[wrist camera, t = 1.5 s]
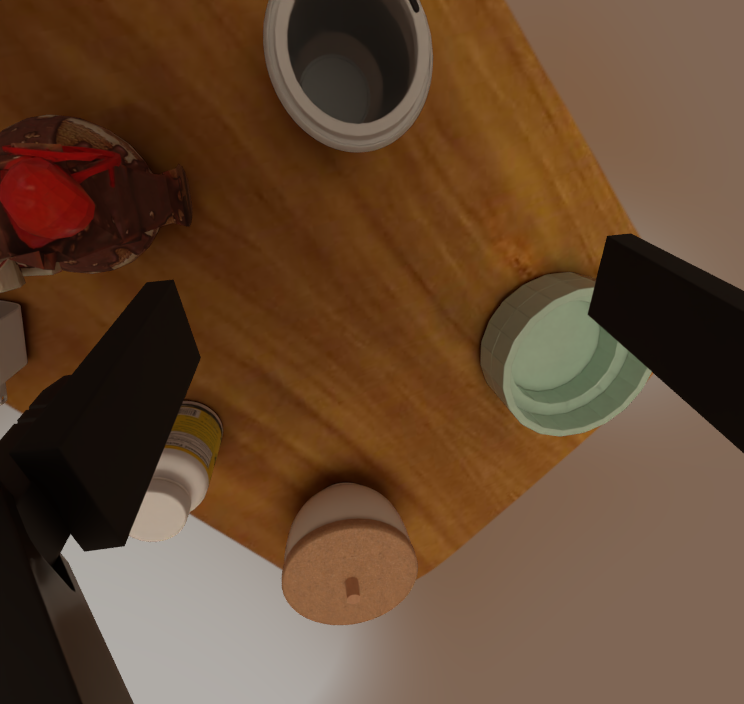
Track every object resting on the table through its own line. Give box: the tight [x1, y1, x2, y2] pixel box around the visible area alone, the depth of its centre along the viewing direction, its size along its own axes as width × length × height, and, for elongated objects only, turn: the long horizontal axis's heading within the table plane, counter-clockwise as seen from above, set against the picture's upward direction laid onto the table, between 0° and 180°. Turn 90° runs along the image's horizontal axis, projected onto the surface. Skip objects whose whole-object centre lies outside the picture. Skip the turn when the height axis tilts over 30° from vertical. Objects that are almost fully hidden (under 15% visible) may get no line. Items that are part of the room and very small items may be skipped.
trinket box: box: [282, 482, 418, 625], centre depth 36 cm, size 11×11×9 cm
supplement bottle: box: [129, 401, 223, 542], centre depth 30 cm, size 5×5×10 cm
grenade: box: [0, 115, 193, 293], centre depth 20 cm, size 9×8×15 cm
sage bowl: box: [480, 272, 652, 436], centre depth 34 cm, size 12×12×5 cm
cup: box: [263, 0, 433, 152], centre depth 21 cm, size 7×7×12 cm
